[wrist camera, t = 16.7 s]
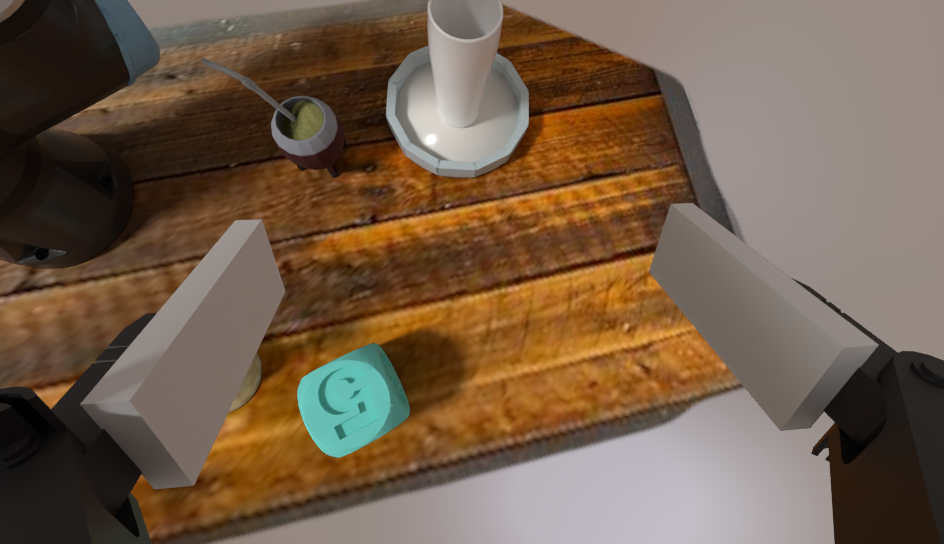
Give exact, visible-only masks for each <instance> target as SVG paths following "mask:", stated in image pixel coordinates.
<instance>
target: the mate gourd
mask: <svg viewBox="0 0 944 544" xmlns="http://www.w3.org/2000/svg"><path fill="white" fill-rule="evenodd" d="M201 63H202V64H204V65H206V66H209V67H211V68H213V69H216V70H218V71H220V72H223V73H225V74H227V75H229V76H231V77H233V78H235V79H237V80H239V81H241V82H242V84H243V85H244V86H246V87H247V88H249V89H250V90H253V91H255V92H256V93H257V94H258V95H260V96H261V97H262V98H263V99H265V100H266V101H267V102H268V103H270V104H271V105H272V106H273V107H275V108H276V110H275V113H274V116H273V119H272V122H271V128H272V136H273V138H274V141H275V143H276V144H277V146H278V148H279V149H280V151H281V152H282V154H283V155H284V156H285V157H286V158H287V159H289V160H290V161H292V162H293V163H295V164H296V165H297V166H298V168H299V169H301V170H302V171H303V170H305V169H307V168H309V169H314V170H316V169H325V168H327V169H328V171H329V172H330V174H331V175H332V177H336V176H338V175H339V174H338V172H337V170H336V169H335V167H334V166H333V164H334V163H335V162H336V160H337V159H338V158H339V157H340V155H341V152H342V149H343V148H345V147H347V145H346V142H345V140H344V133H343V127H342V124H341V122H340V121H339V119H338V118H337V116H336V115H335V113H334V112H333V110H332V109H331V108H330V107H329V106H328V105H327V104H325V103H324V102H322V101H321V100H319V99H317V98H313V97H308V96H297V97H291V98H289V99H287V100H285V101H283V102H282V103H281V104H279V103H277V102H276V101H275V100H274V99H273V98H271V97H270V96H269V95H268V94H266V93H265V92H264V91H263V90H262V89H260V88H259V87H258V86H257V85H256V83H255V82H254V81H253V80H251V79H250V78H249V77H247V76H243V75H241V74H239V73H237V72H235V71H233V70H231V69H229V68H227V67H224V66H222V65H219V64H216V63H214V62H212V61H209V60H207V59H204V58H202V59H201Z"/></svg>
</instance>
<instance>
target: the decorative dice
mask: <svg viewBox="0 0 944 544" xmlns="http://www.w3.org/2000/svg"><path fill="white" fill-rule="evenodd" d="M297 394H298V404H299V408H300V412H301V415H302V418H303V421H304V423H305V426H306V428H307V430H308V432H309V434H310V435H311V437H312V439H313V440H314V442H315V443H316V445H317V446H318V447H319V448H320V449H321V450H322V451H323V452H324V453H326V454H327V455H330V456H333V457H337V458H339V457H342V456H345V455H347V454H349V453H352V452H354V451H356V450H358V449H360V448H362V447H363V446H365V445H367V444H369V443H371V442H372V441H374V440H376V439H377V438H379V437H381V436H382V435H384V434H386V433H387V432H389V431H390V430H392V429H393V428H395V427H396V426H398V425H399V424H400V423H402V422H403V421H404V420H405V419H407V418H408V416H409V414H410V407H409V403H408V400H407V397H406V394H405V391H404V389H403V387H402V384H401V382H400V380H399V378H398V376H397V374H396V372H395V370H394V368H393V366H392V364H391V362H390V360H389V359H388V357H387V355H386V354H385V352H384V351H383V349H382V348H381V347H380V346H379V345H378V344H375V343H372V344H369V345H366V346H364V347H361V348H359V349H357V350H355V351H352V352H350V353H348V354H346V355H344V356H342V357H340V358H337V359H335V360H333V361H331V362H329V363H328V364H326V365H324V366H322V367H320V368H318V369H316V370H314V371H313V372H311V373H309V374H308V375H306V376H305V377H303V378H302V379H301V382H300V384H299V387H298V393H297Z"/></svg>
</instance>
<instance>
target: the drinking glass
mask: <svg viewBox="0 0 944 544" xmlns="http://www.w3.org/2000/svg"><path fill="white" fill-rule="evenodd" d="M502 21H503V6H502V3H501V1H500V0H429V1H428V15H427V32H428V47H429V54H430V61H431V68H432V74H433V81H434V87H435V94H436V108H437V113H438V115H439V117H440V118H441V120H442V121H443V122H444V123H446V124H447V125H449V126H451V127H455V128H463V127H467V126H469V125H471V124H472V123H473V122H474V121H475V120H476V119H477V117H478V115H479V112H480V107H481V103H482V99H483V96H484V93H485V90H486V86H487V83H488V80H489V77H490V74H491V71H492V67H493V64H494V61H495V58H496V54H497V50H498V46H499V41H500V35H501V28H502Z"/></svg>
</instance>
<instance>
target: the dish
mask: <svg viewBox="0 0 944 544" xmlns="http://www.w3.org/2000/svg"><path fill="white" fill-rule="evenodd" d="M386 118H387V122H388V126H389V128H390V129H391V131H392V133H393V135H394V137H395V139H396V141H397V143H398V145H399V146H400V148H401V149H402V151H403V153H404V155H406V157H408V158H409V159H411V160H412V161H413V162H414V163H416V164H417V165H418V166H420V167H421V168H423V169H425V170H427V171H429V172H431V173H434V174H436V175H439V176H444V177H450V178H469V177H477V176H479V175H483V174H485V173H488V172H490V171H492V170H494V169H495V168H497V167H499V166H500V165H501V164H504V163H506V162H507V161H508V160H509V158H510V156H511V155H512V153H513V152H514V151H515V149H516V148H517V146H518V144H519V142H520V141H521V139H522V138H523V136H524V135H525V133H526V130H527V128H528V125H529V91H528V89H527V87H526V86H525V84H524V83H523V81H522V79H521V78H520V76H519V74H518V73H517V71H516V69H515V68H514V66H513V65H512V63H511V62H510V60H508V59H506V58H504V57H503V56H501V55H499V54H498V53H497V54H496V58H495V61H494V64H493V67H492V71H491V74H490V77H489V80H488V83H487V86H486V90H485V93H484V96H483V99H482V103H481V107H480V112H479V115H478V117H477V119H476V120H475V121H474V122H473V123H472V124H471V125H469V126H467V127H463V128H455V127H451V126H449V125H447V124H446V123H444V122H443V121H442V120H441V118H440V117H439V115H438V113H437V108H436V94H435V87H434V81H433V74H432V68H431V61H430V54H429V47H428V46H426V47H423V48H421V49H418V50H416V51H414V52H411V53H410V54H408V56H407V57H406V58H405V60H404V61H403V62H402V63H401V65H400V66H399V67H398V69H397V70H396V71H395V73H394V74H393V75H392V77H391V78H390V79H389V82H388V92H387V106H386Z"/></svg>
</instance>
